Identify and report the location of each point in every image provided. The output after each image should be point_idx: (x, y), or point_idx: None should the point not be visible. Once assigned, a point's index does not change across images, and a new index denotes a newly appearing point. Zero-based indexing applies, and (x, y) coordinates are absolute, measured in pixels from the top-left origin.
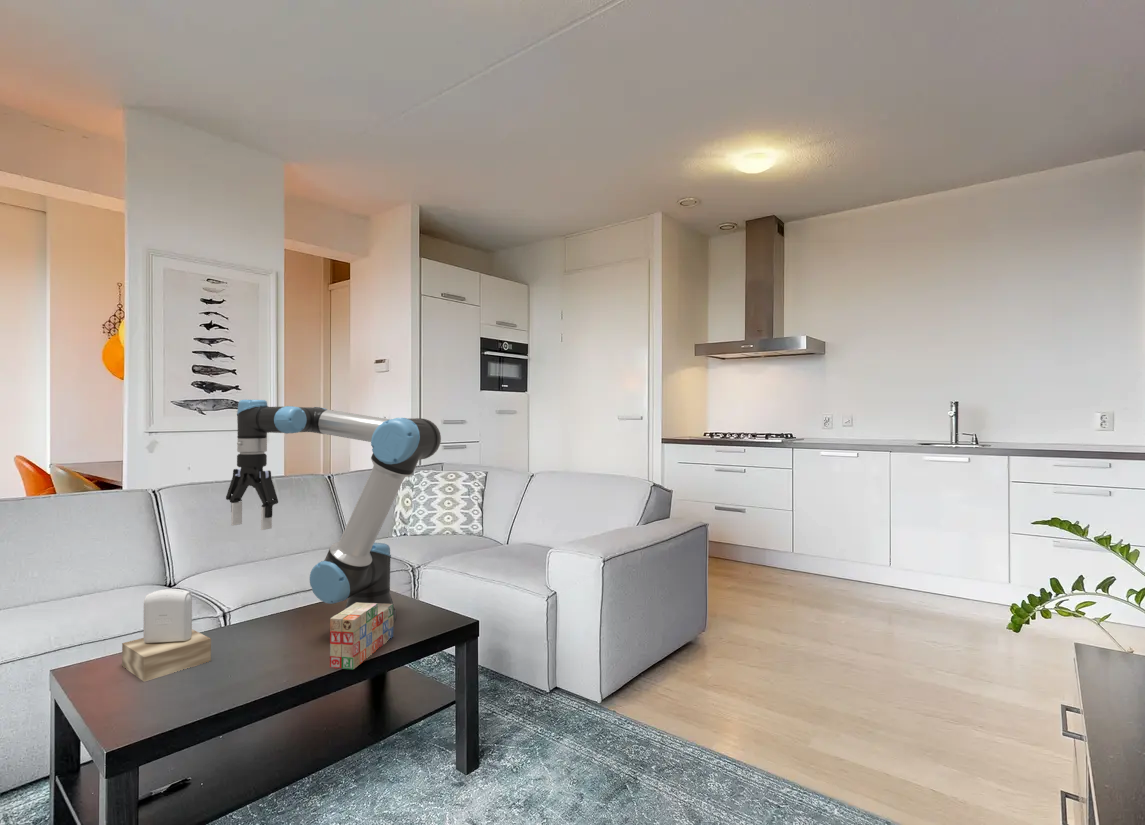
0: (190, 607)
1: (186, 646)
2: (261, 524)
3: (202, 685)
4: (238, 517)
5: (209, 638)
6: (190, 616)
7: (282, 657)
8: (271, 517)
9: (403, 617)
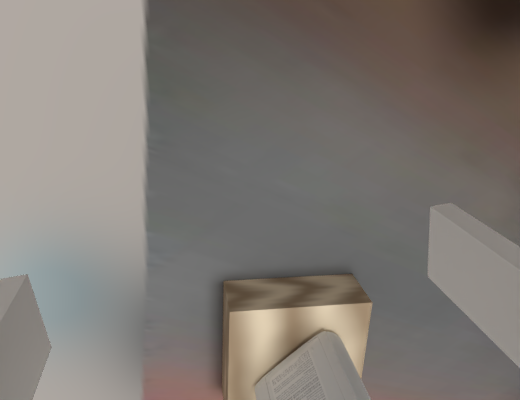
0: (366, 392)
1: (364, 346)
2: (456, 298)
3: (446, 319)
4: (14, 347)
5: (368, 304)
6: (357, 373)
7: (471, 168)
8: (513, 245)
9: None
